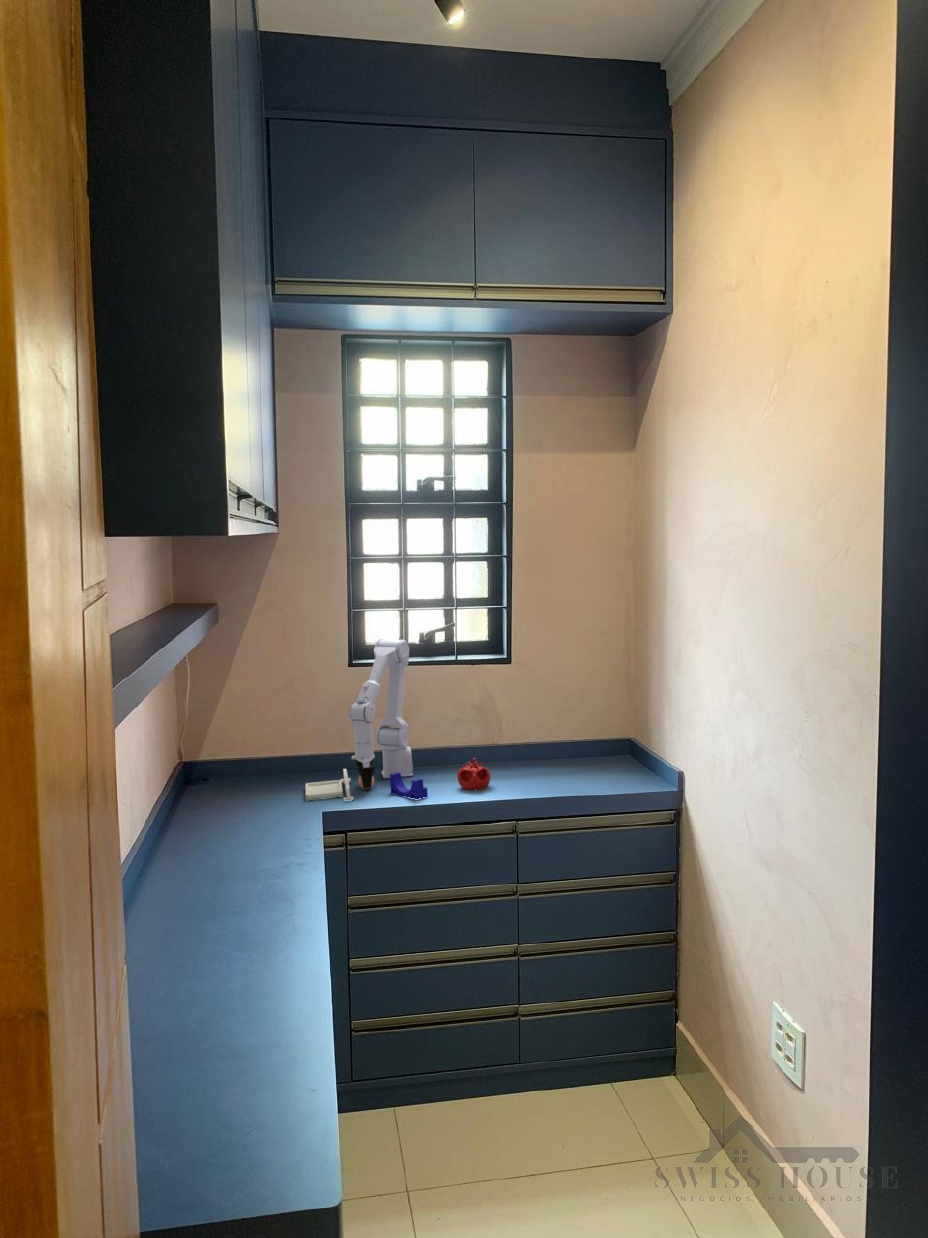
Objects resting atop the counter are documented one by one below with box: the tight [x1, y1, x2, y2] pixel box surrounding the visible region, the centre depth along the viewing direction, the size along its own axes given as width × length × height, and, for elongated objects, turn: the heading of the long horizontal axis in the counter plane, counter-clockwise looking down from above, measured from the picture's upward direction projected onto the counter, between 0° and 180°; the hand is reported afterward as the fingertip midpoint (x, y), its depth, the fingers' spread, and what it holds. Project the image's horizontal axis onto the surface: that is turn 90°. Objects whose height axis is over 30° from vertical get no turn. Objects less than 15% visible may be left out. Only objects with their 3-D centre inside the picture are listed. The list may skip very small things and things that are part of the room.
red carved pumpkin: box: [456, 757, 491, 792], centre depth 265 cm, size 10×10×9 cm
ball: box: [357, 775, 375, 790], centre depth 270 cm, size 5×5×5 cm
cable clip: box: [389, 772, 428, 799], centre depth 262 cm, size 12×4×6 cm, turn 43°
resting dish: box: [305, 779, 344, 802], centre depth 268 cm, size 11×13×2 cm
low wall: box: [340, 768, 355, 801], centre depth 269 cm, size 3×22×4 cm, turn 10°
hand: (366, 784), depth 270 cm, fingers open, 7 cm apart
